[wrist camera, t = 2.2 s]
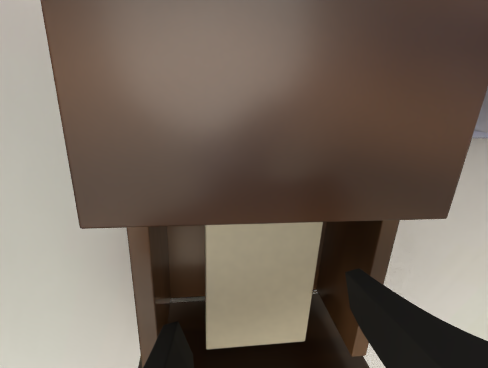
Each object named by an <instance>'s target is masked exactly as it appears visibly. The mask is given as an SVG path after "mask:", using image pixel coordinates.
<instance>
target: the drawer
mask: <svg viewBox="0 0 488 368" xmlns="http://www.w3.org/2000/svg"><path fill="white" fill-rule="evenodd" d="M398 224H399V220H378V221H342V222H323V225H322V231H321V238H320V245H319V251H318V258H317V265H316V271H315V278H314V285H313V290H315V289H317V292H318V293H319V294H312V298H311V305H310V311H309V318H308V325H307V331H306V338H305V341H302V342H290V343H278V344H266V345H254V346H243V347H231V348H219V349H206V316H205V301H188V302H172V303H170V301H171V298H180V297H197V296H205V225H195V226H159V227H127V235H128V244H129V253H130V262H131V271H132V280H133V289H134V298H135V307H136V316H137V325H138V334H139V343H140V352H141V357H140V361H139V366H138V368H143V367H144V365H145V363H146V361H147V359H148V357H149V355H150V352H151V350H152V348H153V346H154V344H155V342H156V340H157V338H158V335H159V333H160V331H161V329H162V327H163V325H166V324H169V323H172V322H176V321H178V322H179V324H180V326H181V329H182V331H183V333H184V335H185V338H186V340H187V342H188V344H189V347H190V349H191V351H192V354H193V362H194V368H369V366H368V364H367V362H366V361H365V359H364V357H363V356H365V355H366V352H367V348H368V344H369V342H368V340H367V339H366V337H365V336H364V334H363V333H362V331H361V329H360V327H359V325H358V323H357V321H356V319H355V317H354V315H353V313H352V311H351V310H350V305H349V298H348V290H347V283H346V276H345V272H348V271H351V270H354V269H358V268H359V269H361V270H363V271H364V272H365V273H367V274H368V275H370V276H371V277H373V278H374V279H375V280H377V281H378V282H380V283H381V284H384V280H385V276H386V272H387V268H388V264H389V260H390V256H391V252H392V248H393V244H394V240H395V236H396V232H397V228H398Z"/></svg>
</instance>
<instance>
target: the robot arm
mask: <svg viewBox="0 0 488 368" xmlns="http://www.w3.org/2000/svg"><path fill="white" fill-rule="evenodd" d="M472 138H488V88H487V91H486V94H485V98H484V101H483V104H482V107H481V110H480V114H479V117H478V120H477V123H476V126H475V130H474V133H473V136H472ZM345 276H346V283H347V290H348V298H349V305H350V310H351V311H352V313H353V315H354V317H355V319H356V321H357V323H358V325H359V327H360V329H361V331H362V333H363V334H364V336H365V337H366V339H367V340H368V342H369V343H370V345H371V346H372V348H373V349H374V351H375V352H376V354H377V355H378V357H379V358H380V360H381V361H382V363H383V364H384V366H385V367H386V368H488V341H486V340H483V339H481V338H479V337H476V336H474V335H472V334H469V333H467V332H465V331H463V330H461V329H459V328H457V327H455V326H452V325H450V324H448V323H446V322H444V321H442V320H441V319H439V318H437V317H435V316H433V315H431V314H429V313H428V312H426V311H424V310H422V309H421V308H419V307H417V306H416V305H414V304H412V303H411V302H409V301H407V300H406V299H404V298H403V297H401V296H399V295H398V294H396V293H395V292H393V291H392V290H390V289H389V288H387V287H386V286H384V285H383V284H381V283H380V282H378V281H377V280H375V279H374V278H373V277H371V276H370V275H368V274H367V273H365V272H364V271H363V270H361V269H359V268H358V269H354V270H351V271H348V272H345ZM143 368H194V362H193V354H192V351H191V349H190V347H189V344H188V342H187V340H186V338H185V335H184V333H183V331H182V329H181V326H180V324H179V322H178V321H176V322H172V323H169V324H166V325H163V327H162V329H161V331H160V333H159V335H158V338H157V340H156V342H155V344H154V346H153V348H152V350H151V352H150V355H149V357H148V359H147V361H146V363H145V365H144V367H143Z"/></svg>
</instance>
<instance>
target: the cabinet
mask: <svg viewBox="0 0 488 368" xmlns="http://www.w3.org/2000/svg"><path fill="white" fill-rule="evenodd" d="M41 6H42V11H43V17H44V23H45V29H46V34H47V40H48V46H49V52H50V58H51V63H52V69H53V75H54V81H55V86H56V92H57V98H58V104H59V109H60V115H61V121H62V127H63V133H64V138H65V144H66V150H67V156H68V161H69V167H70V173H71V179H72V184H73V190H74V196H75V202H76V207H77V213H78V219H79V225H80V228H82V229H85V228H122V227H159V226H195V225H232V224H268V223H305V222H342V221H378V220H415V219H446V218H447V216H448V213H449V210H450V206H451V203H452V200H453V197H454V194H455V190H456V187H457V184H458V181H459V178H460V174H461V171H462V168H463V165H464V162H465V158H466V155H467V152H468V149H469V146H470V142H471V139H472V136H473V133H474V130H475V126H476V123H477V120H478V117H479V114H480V110H481V107H482V104H483V101H484V98H485V94H486V91H487V88H488V0H41Z"/></svg>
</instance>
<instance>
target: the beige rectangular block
mask: <svg viewBox="0 0 488 368" xmlns="http://www.w3.org/2000/svg"><path fill="white" fill-rule="evenodd" d="M322 225H323V222H305V223H268V224H232V225H205V316H206V349H219V348H231V347H243V346H254V345H266V344H278V343H290V342H302V341H305V338H306V331H307V325H308V318H309V311H310V305H311V298H312V291H313V285H314V278H315V271H316V265H317V258H318V251H319V245H320V238H321V231H322Z"/></svg>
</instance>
